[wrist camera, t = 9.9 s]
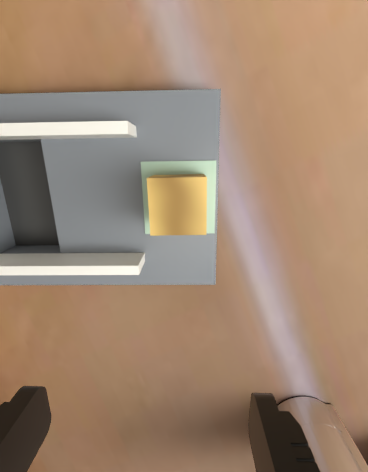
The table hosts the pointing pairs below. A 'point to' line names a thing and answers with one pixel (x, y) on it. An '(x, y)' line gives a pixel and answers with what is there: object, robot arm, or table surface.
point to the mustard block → (177, 204)
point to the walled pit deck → (103, 186)
